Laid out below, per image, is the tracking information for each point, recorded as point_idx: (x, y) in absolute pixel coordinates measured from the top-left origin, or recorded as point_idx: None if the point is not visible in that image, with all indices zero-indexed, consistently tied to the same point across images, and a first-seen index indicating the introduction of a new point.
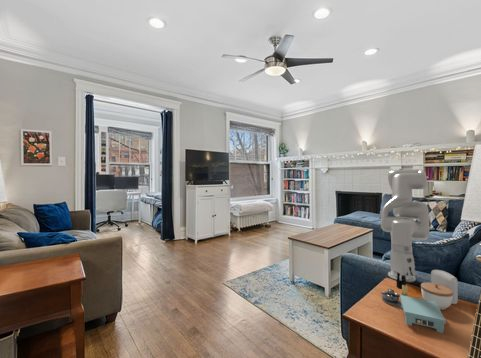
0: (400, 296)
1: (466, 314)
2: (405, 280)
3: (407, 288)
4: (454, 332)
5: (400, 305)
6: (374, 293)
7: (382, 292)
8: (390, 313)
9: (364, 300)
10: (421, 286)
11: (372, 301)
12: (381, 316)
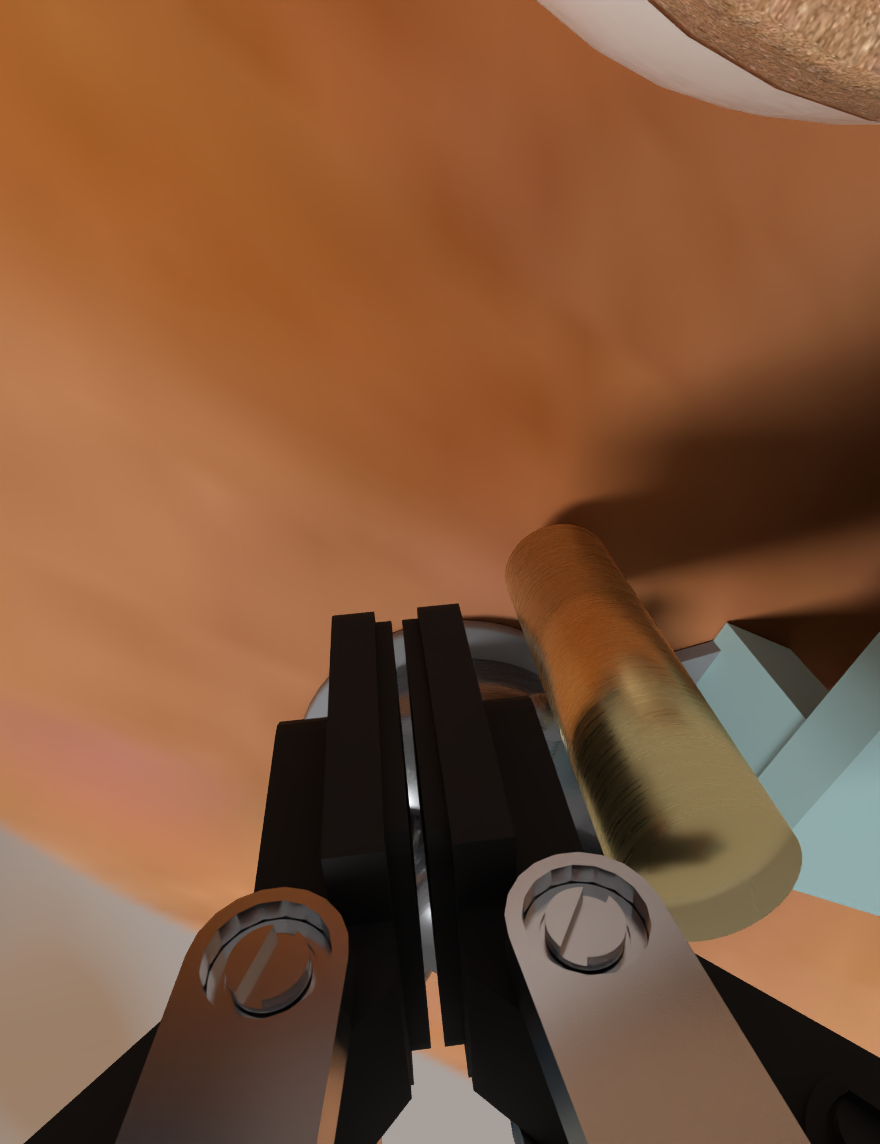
0: (818, 894)
1: None
2: (641, 934)
3: (743, 758)
4: None
5: None
6: (170, 883)
7: (425, 981)
8: (802, 893)
9: (439, 1052)
10: (809, 74)
11: None
12: (836, 997)
